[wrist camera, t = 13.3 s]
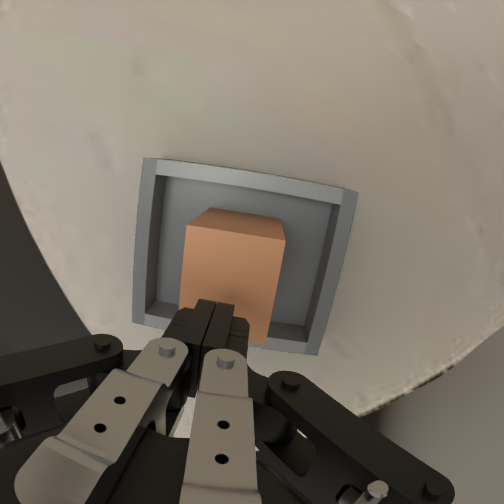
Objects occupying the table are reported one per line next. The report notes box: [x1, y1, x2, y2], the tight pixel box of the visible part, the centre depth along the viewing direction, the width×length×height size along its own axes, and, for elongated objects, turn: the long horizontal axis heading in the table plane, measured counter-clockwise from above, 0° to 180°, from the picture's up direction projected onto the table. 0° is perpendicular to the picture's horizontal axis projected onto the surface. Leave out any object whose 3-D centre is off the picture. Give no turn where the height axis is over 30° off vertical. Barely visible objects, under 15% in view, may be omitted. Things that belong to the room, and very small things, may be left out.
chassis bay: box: [132, 158, 358, 356], centre depth 23 cm, size 14×12×4 cm
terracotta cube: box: [179, 207, 286, 345], centre depth 20 cm, size 5×6×7 cm
